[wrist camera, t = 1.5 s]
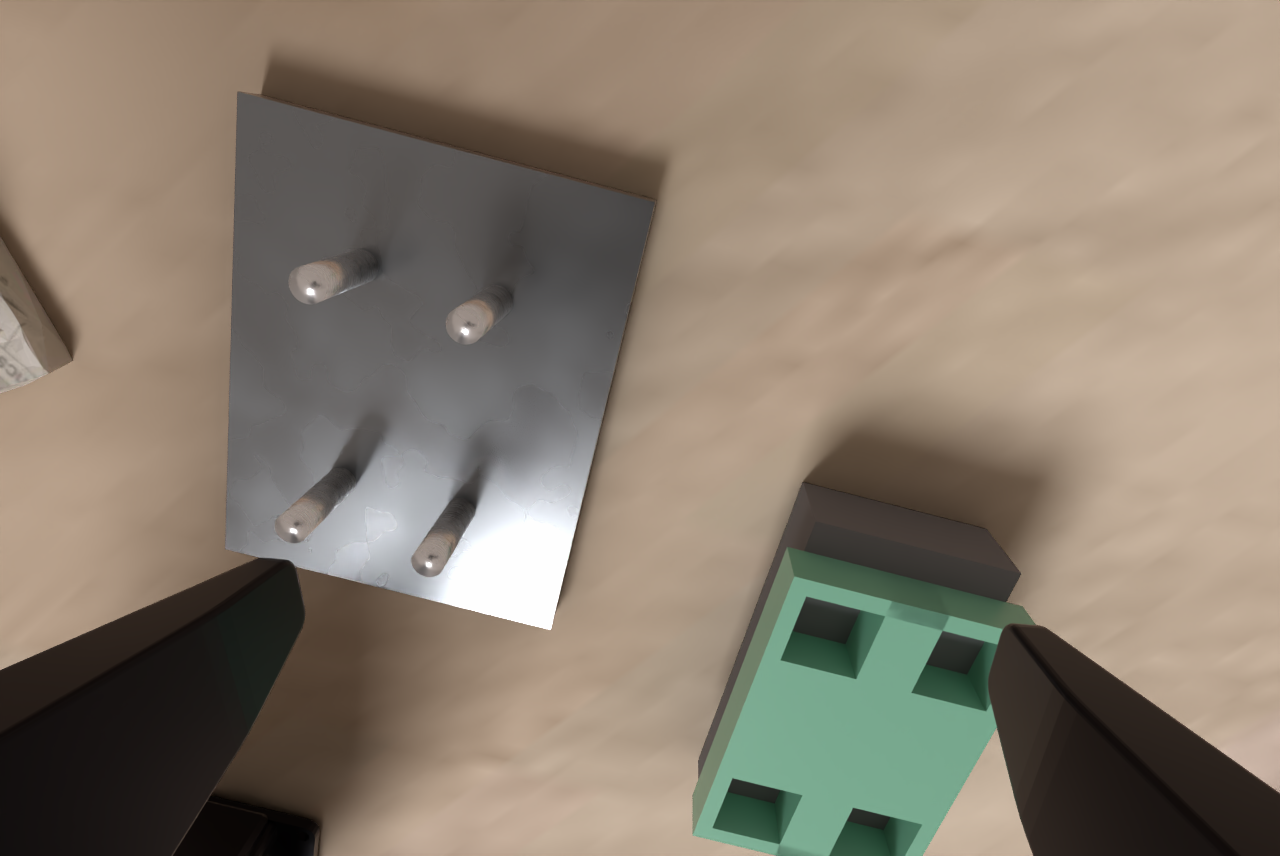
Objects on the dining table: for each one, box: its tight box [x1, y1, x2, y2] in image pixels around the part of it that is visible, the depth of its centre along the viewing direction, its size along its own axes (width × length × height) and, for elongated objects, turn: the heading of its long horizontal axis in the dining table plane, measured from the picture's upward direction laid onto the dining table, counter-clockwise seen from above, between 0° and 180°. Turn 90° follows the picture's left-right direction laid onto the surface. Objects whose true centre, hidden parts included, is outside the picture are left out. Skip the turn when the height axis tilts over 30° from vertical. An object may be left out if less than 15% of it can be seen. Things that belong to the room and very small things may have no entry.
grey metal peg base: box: [225, 92, 657, 630], centre depth 20 cm, size 14×11×4 cm
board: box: [693, 547, 1036, 856], centre depth 21 cm, size 10×7×2 cm
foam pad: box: [698, 482, 1021, 830], centre depth 23 cm, size 12×6×2 cm, turn 166°
